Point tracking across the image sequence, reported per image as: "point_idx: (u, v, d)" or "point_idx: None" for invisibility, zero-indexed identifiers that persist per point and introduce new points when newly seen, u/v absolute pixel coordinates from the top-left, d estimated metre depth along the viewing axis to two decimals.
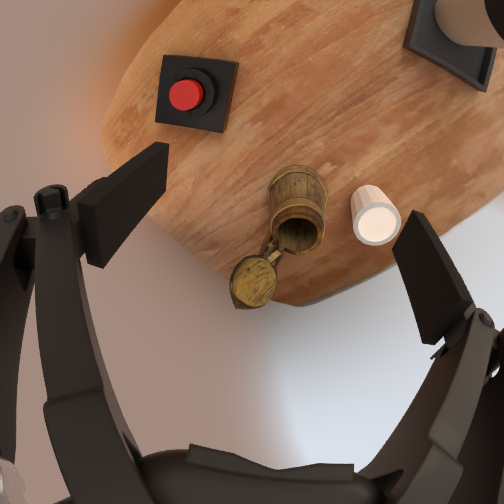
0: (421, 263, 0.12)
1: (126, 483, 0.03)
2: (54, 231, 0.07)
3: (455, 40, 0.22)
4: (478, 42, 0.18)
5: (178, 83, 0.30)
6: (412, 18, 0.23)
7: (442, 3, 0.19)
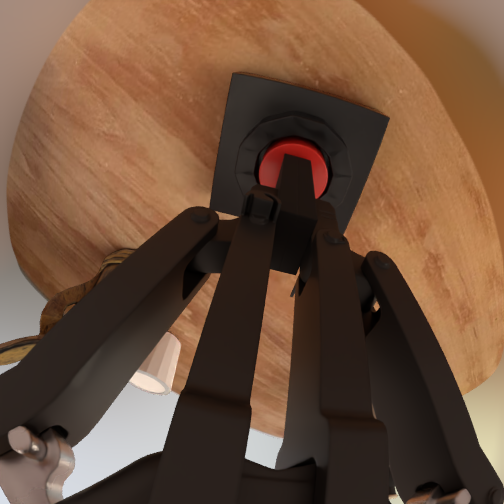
0: None
1: (221, 496, 0.03)
2: (255, 236, 0.09)
3: None
4: None
5: (322, 169, 0.16)
6: None
7: None
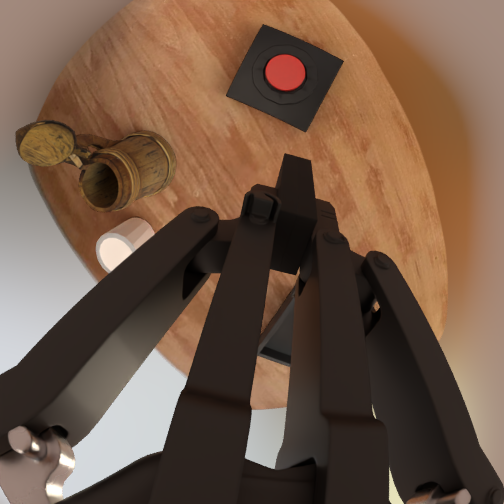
0: None
1: (221, 496, 0.03)
2: (255, 236, 0.09)
3: None
4: None
5: (302, 70, 0.24)
6: None
7: None
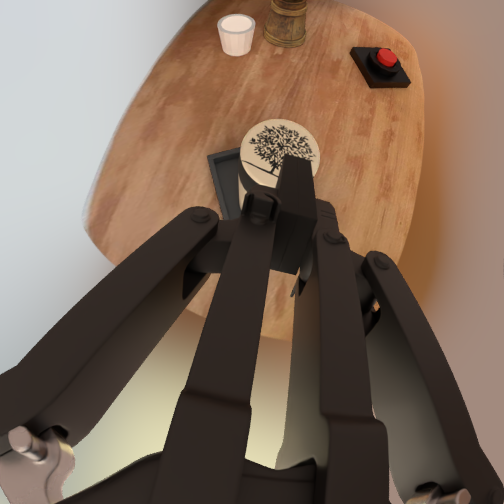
0: None
1: (221, 496, 0.03)
2: (255, 236, 0.09)
3: None
4: None
5: (395, 60, 0.42)
6: None
7: None
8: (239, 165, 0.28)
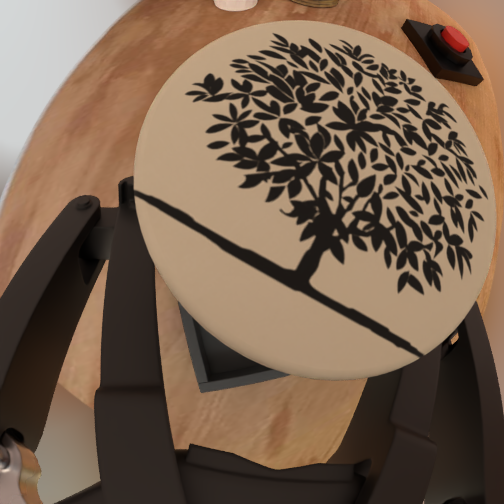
0: None
1: (165, 484, 0.03)
2: (135, 222, 0.08)
3: None
4: None
5: (467, 44, 0.22)
6: None
7: None
8: None
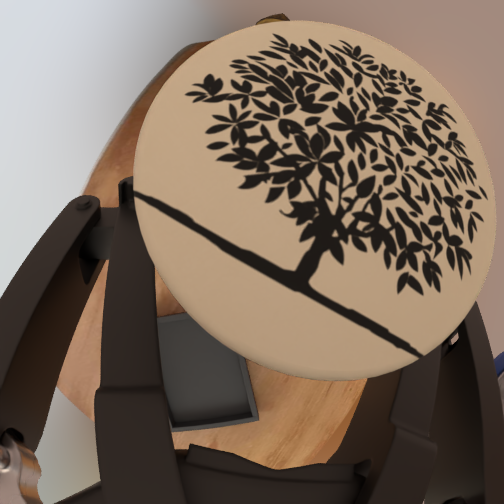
0: None
1: (165, 484, 0.03)
2: (135, 222, 0.08)
3: None
4: None
5: None
6: None
7: None
8: None
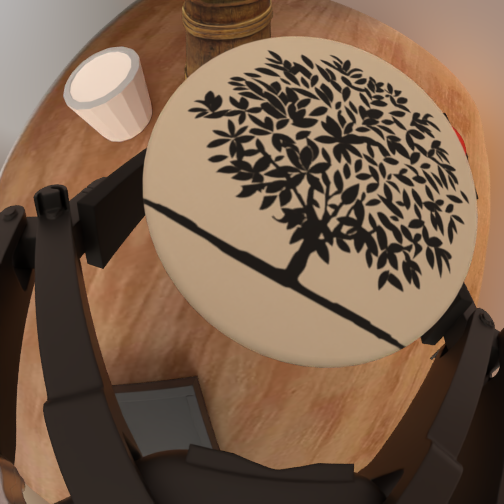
0: None
1: (126, 483, 0.03)
2: (54, 231, 0.07)
3: None
4: None
5: None
6: (210, 430, 0.20)
7: None
8: None
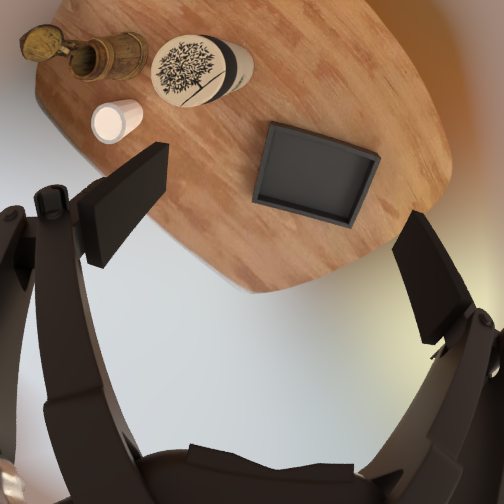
0: (421, 263, 0.12)
1: (126, 483, 0.03)
2: (54, 231, 0.07)
3: None
4: None
5: None
6: (301, 130, 0.40)
7: None
8: None
